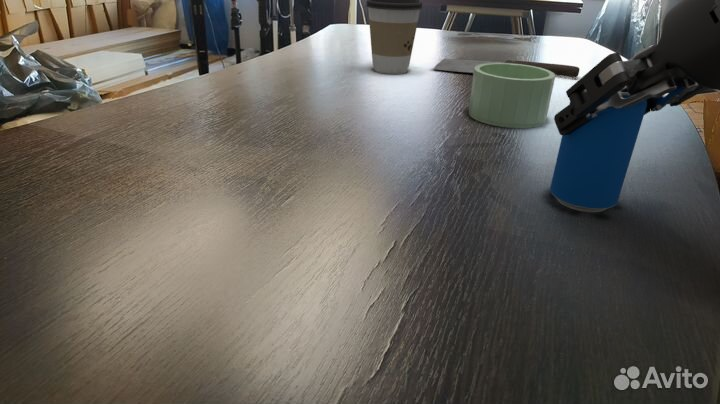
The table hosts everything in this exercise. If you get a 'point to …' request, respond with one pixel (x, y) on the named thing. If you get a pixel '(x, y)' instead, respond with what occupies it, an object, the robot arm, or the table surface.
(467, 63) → the cleaver
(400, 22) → the coffee cup
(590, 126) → the beverage can
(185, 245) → the table surface
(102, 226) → the table surface
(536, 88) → the canister
